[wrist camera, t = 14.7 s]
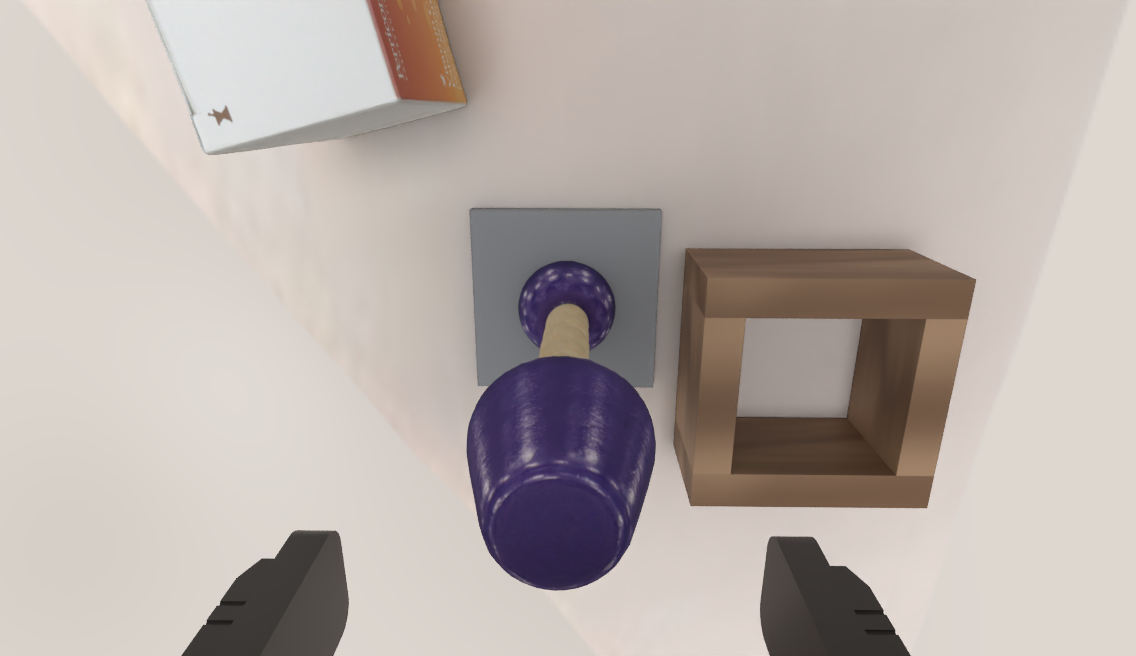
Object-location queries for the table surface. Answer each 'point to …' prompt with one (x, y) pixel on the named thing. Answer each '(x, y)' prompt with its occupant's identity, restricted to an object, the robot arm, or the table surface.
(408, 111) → the small box
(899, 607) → the table surface
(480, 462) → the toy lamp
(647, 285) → the slate pad
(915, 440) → the wooden cube shelf
